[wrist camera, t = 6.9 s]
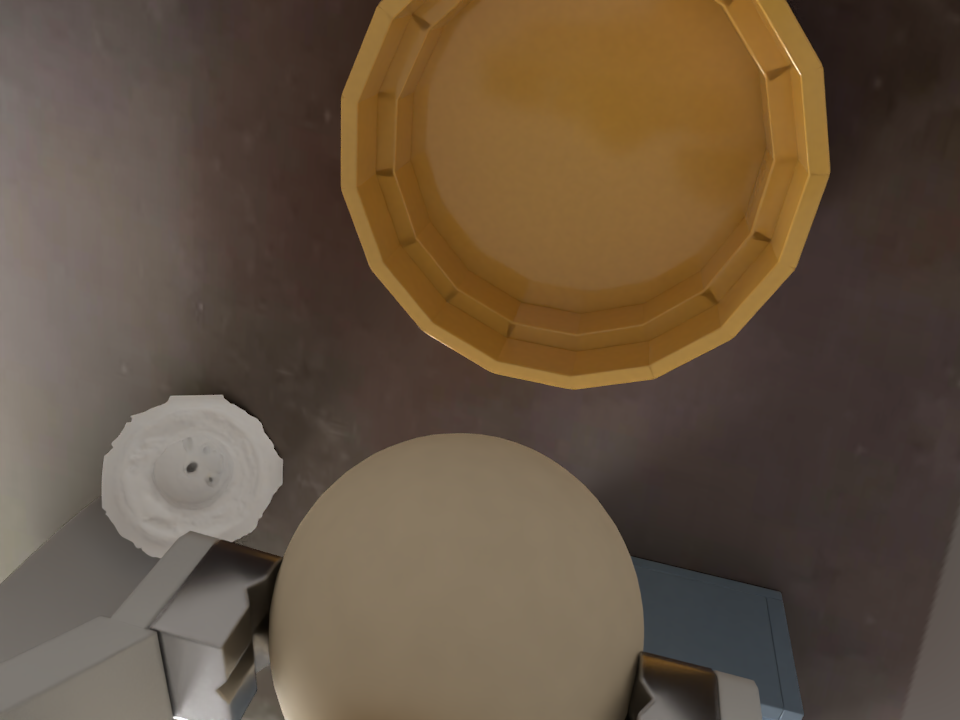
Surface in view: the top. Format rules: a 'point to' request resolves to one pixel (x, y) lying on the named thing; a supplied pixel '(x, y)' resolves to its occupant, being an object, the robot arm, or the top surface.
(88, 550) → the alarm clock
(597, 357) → the bowl
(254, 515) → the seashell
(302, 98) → the top surface
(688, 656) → the bin
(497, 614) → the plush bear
